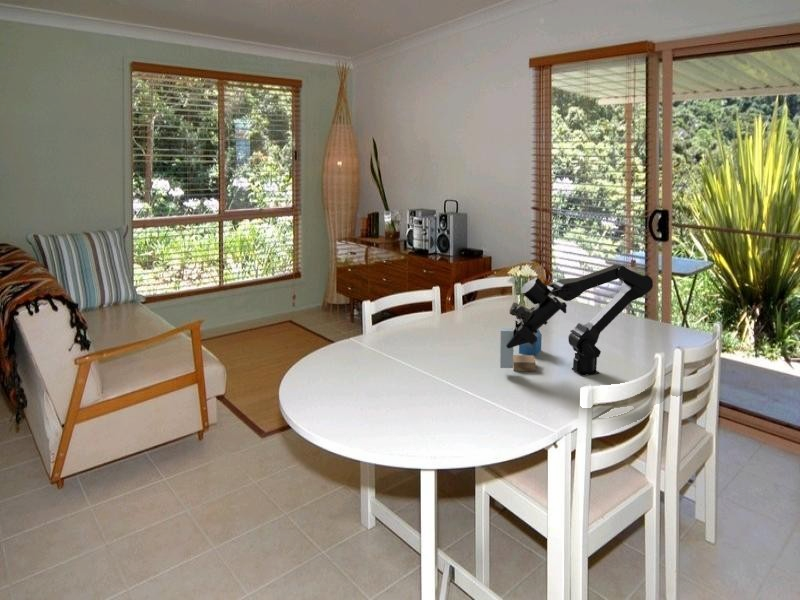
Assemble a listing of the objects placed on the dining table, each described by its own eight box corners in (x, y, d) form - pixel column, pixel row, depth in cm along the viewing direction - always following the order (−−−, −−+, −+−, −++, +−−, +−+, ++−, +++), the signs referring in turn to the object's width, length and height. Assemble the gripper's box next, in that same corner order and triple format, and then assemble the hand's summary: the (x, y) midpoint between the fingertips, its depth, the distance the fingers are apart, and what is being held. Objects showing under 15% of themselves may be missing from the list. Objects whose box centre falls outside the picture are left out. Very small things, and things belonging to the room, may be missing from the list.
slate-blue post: (512, 363, 185) (513, 327, 182) (513, 368, 181) (513, 331, 179) (500, 363, 186) (500, 327, 183) (500, 367, 182) (500, 331, 179)
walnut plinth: (533, 363, 193) (533, 355, 192) (535, 371, 186) (535, 362, 185) (512, 363, 194) (513, 355, 193) (513, 370, 187) (513, 362, 186)
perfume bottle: (541, 350, 206) (542, 319, 203) (535, 355, 201) (536, 323, 198) (524, 348, 209) (525, 317, 206) (518, 353, 204) (519, 321, 201)
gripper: (523, 288, 186) (489, 320, 191) (526, 302, 168) (489, 336, 173) (547, 311, 187) (512, 342, 191) (552, 327, 169) (514, 361, 173)
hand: (507, 345), depth 182 cm, fingers closed on slate-blue post, 4 cm apart
